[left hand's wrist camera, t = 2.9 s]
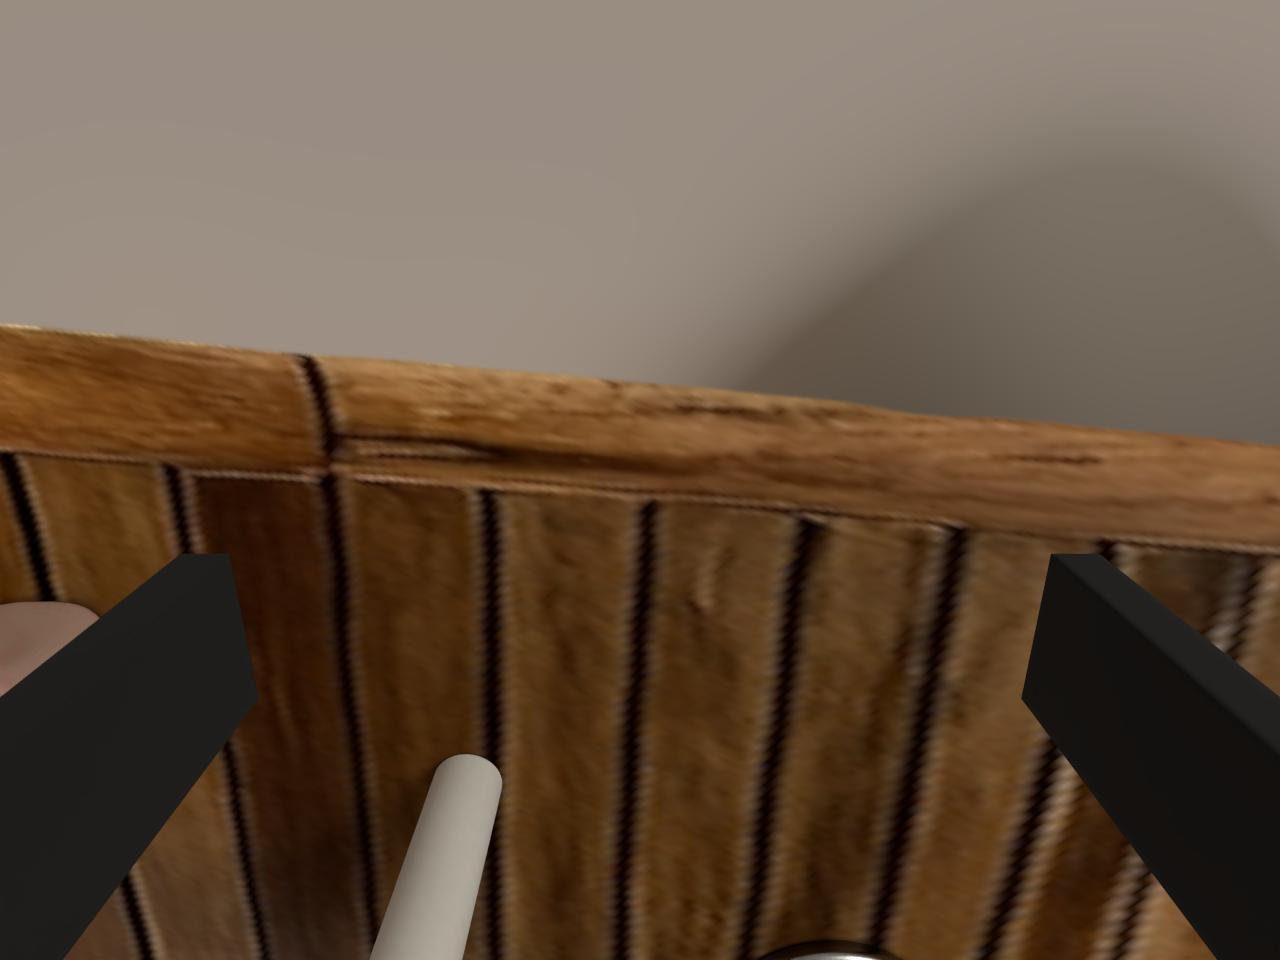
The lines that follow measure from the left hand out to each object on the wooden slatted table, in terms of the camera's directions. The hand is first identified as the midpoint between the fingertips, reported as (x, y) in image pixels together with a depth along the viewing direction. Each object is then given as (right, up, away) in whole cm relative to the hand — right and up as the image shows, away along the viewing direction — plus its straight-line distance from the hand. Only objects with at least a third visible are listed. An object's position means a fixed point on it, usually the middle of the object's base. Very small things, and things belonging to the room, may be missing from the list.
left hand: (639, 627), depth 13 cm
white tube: (-11, -17, +36) cm, 41 cm away
